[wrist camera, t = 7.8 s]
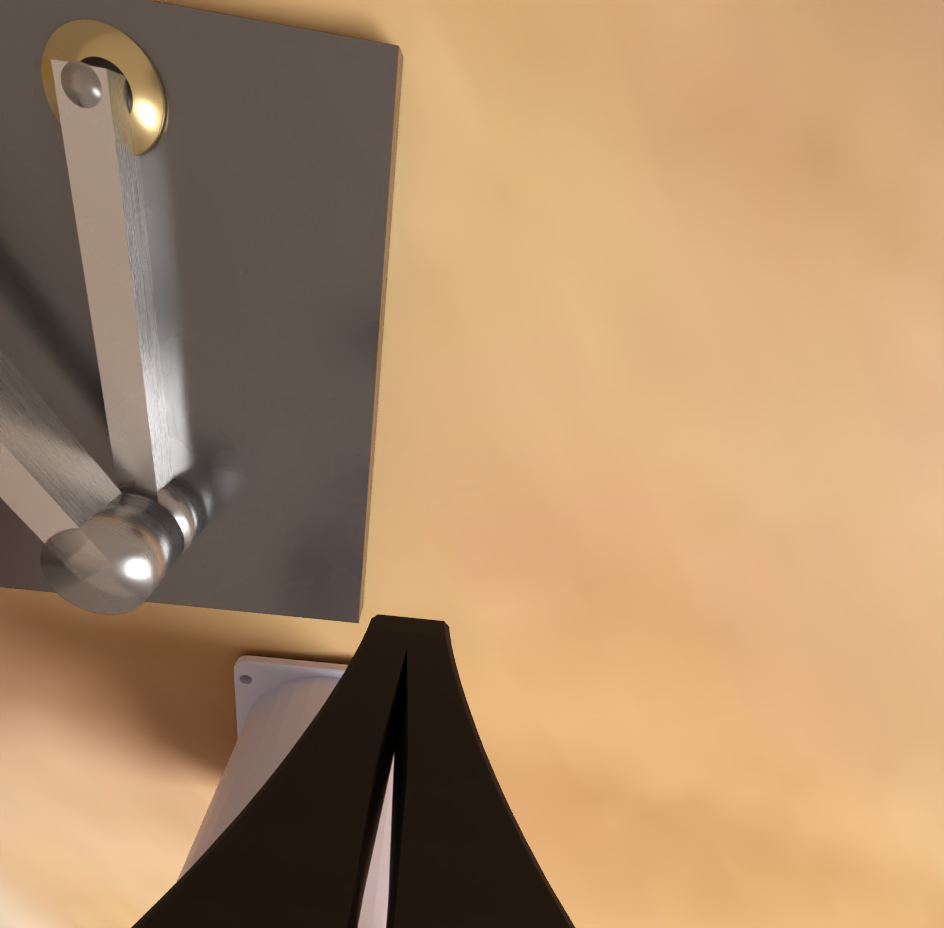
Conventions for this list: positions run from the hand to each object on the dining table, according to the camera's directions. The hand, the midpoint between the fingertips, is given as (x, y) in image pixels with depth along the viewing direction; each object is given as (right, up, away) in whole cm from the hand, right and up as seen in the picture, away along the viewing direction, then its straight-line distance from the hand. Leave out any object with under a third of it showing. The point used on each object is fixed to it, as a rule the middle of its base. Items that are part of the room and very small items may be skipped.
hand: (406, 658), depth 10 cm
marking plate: (-11, +7, +7) cm, 15 cm away
